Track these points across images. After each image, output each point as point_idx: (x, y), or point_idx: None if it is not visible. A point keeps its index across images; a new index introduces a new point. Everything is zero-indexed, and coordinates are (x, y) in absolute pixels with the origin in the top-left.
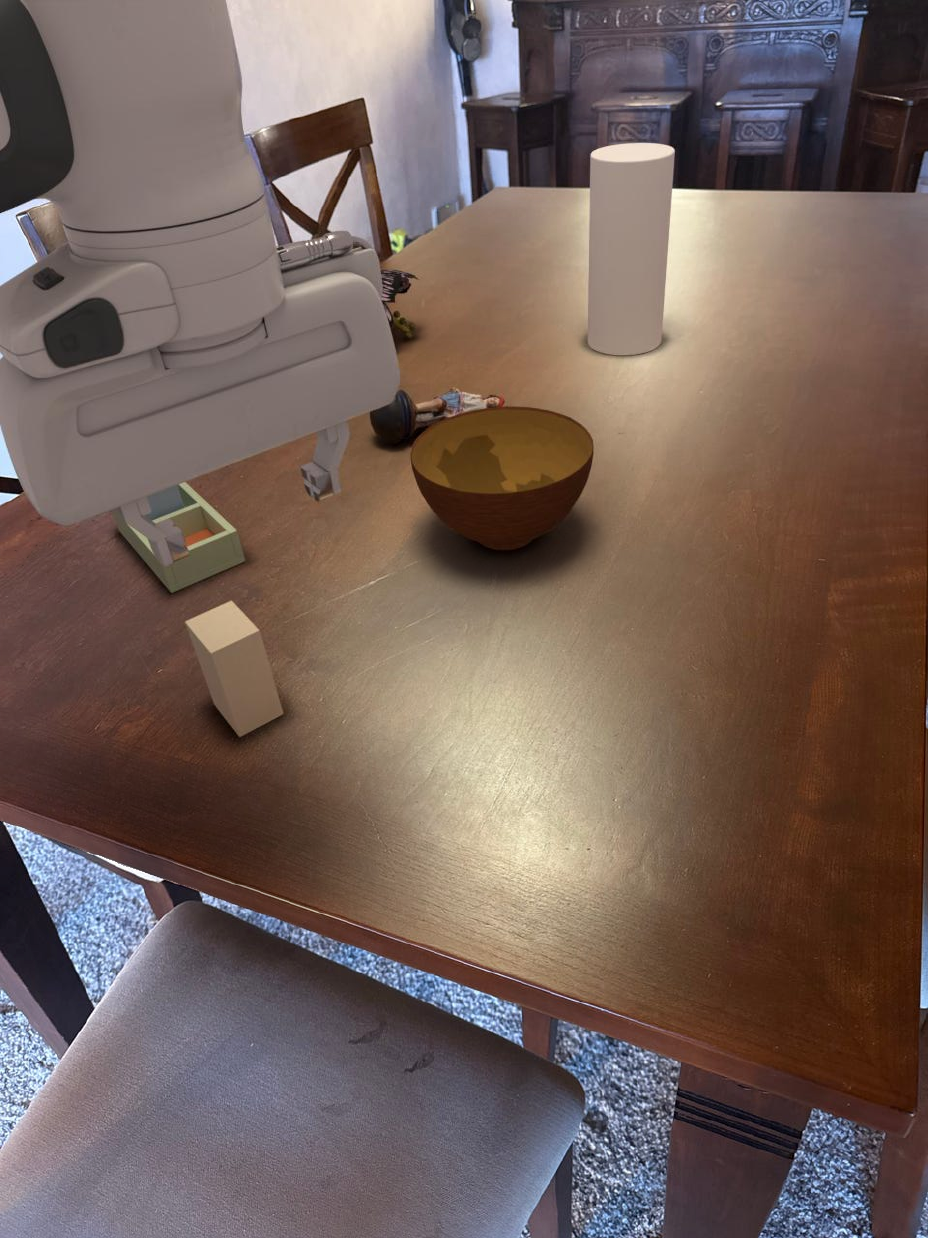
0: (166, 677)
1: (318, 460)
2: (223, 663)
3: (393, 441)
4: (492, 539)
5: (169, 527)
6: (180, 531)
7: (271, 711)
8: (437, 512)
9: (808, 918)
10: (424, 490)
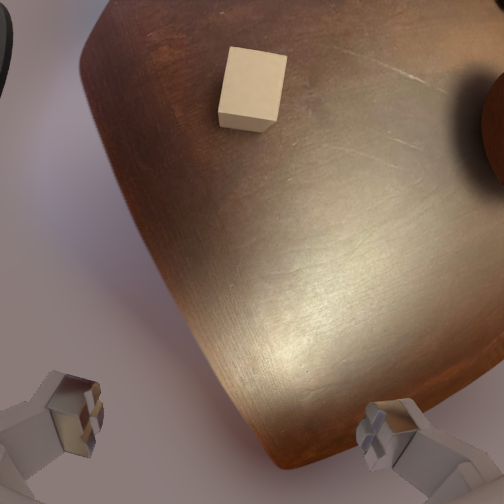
0: (220, 22)
1: (414, 449)
2: (227, 116)
3: (502, 2)
4: (488, 158)
5: (71, 438)
6: (87, 455)
7: (253, 130)
8: (488, 110)
9: (329, 435)
10: (499, 99)
